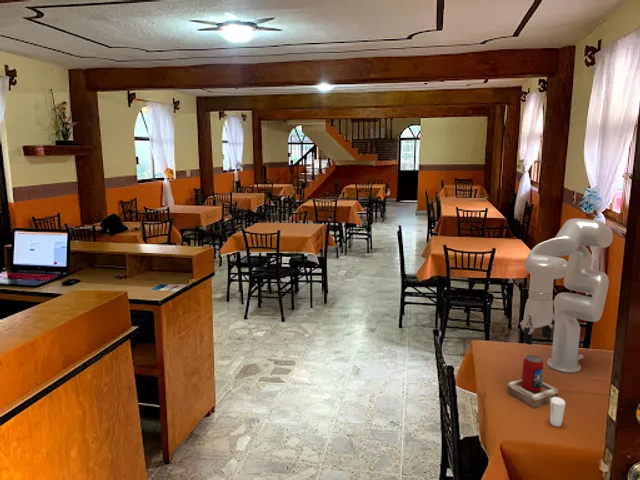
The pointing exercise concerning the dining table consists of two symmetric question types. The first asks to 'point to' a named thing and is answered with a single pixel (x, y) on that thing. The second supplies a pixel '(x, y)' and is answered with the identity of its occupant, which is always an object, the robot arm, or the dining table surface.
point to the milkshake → (556, 411)
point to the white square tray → (532, 394)
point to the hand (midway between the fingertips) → (537, 340)
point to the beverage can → (532, 373)
